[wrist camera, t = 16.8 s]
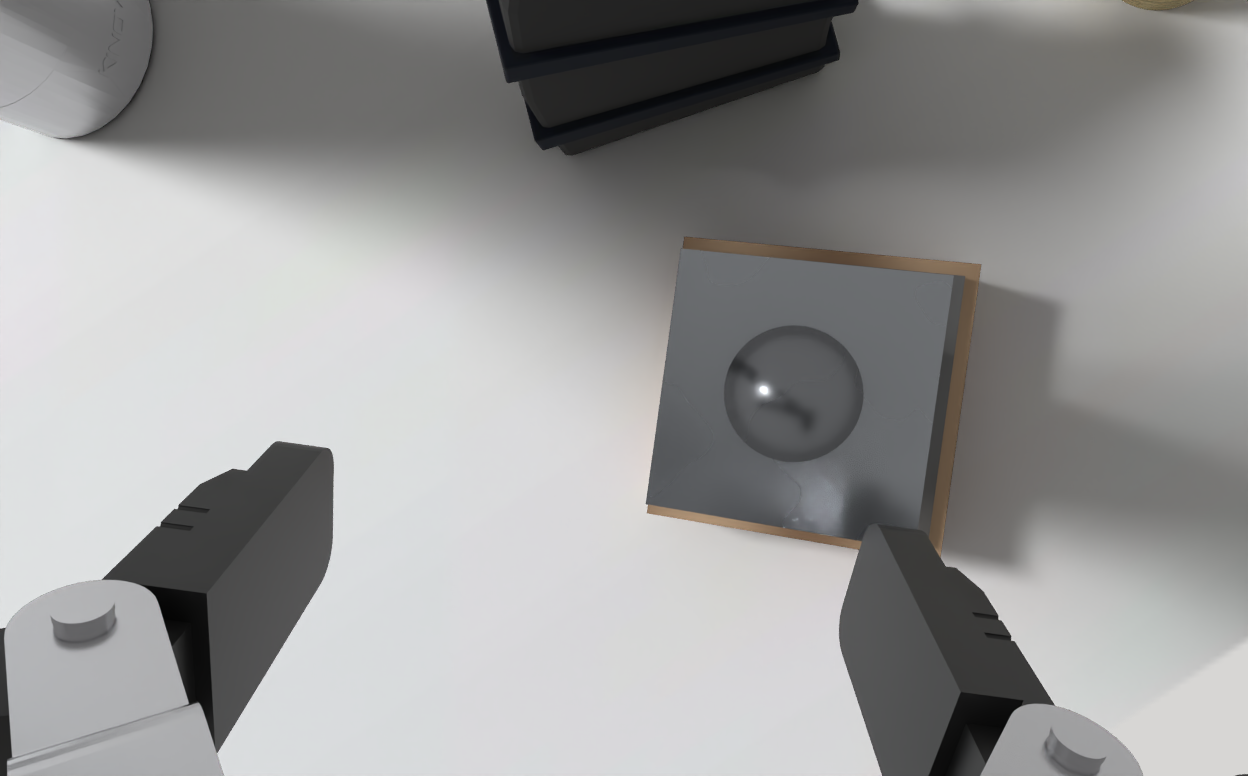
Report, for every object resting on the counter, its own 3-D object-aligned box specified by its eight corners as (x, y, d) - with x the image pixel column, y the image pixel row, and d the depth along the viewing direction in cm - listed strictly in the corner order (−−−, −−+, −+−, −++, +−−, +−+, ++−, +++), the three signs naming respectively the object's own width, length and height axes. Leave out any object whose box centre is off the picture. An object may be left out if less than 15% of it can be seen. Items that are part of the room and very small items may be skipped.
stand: (661, 503, 33) (644, 514, 29) (695, 251, 32) (682, 234, 29) (927, 547, 30) (941, 565, 27) (964, 277, 30) (983, 262, 27)
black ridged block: (458, 93, 33) (465, -226, 18) (758, 50, 36) (967, -252, 22) (480, 181, 33) (505, -70, 18) (780, 131, 36) (1007, -120, 21)
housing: (720, 459, 29) (634, 510, 15) (740, 316, 29) (672, 238, 15) (869, 482, 28) (921, 560, 14) (890, 334, 27) (963, 266, 14)
